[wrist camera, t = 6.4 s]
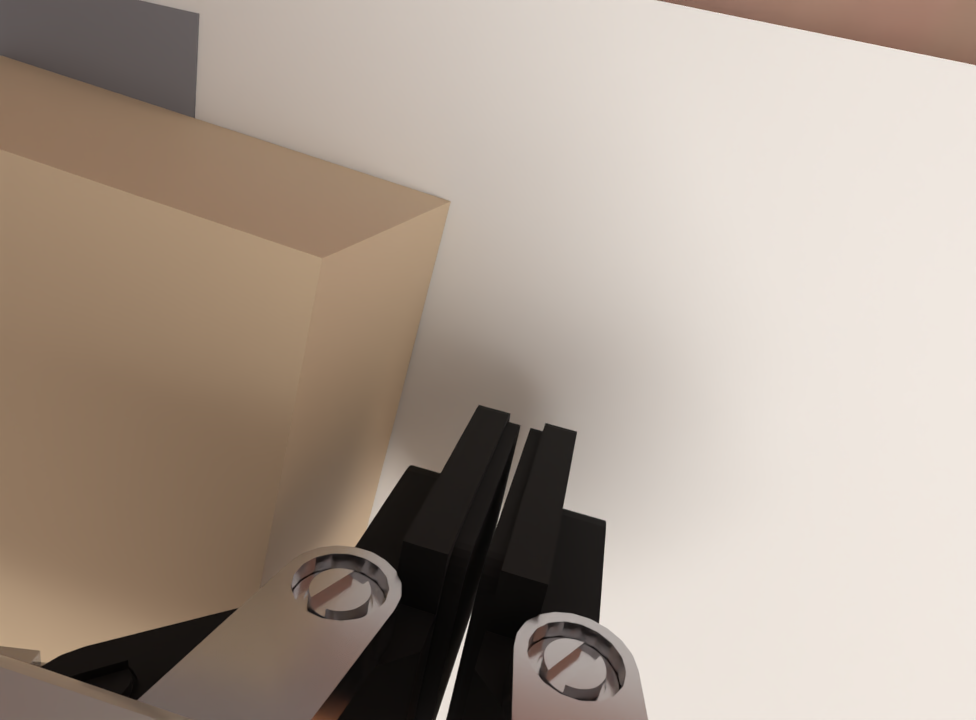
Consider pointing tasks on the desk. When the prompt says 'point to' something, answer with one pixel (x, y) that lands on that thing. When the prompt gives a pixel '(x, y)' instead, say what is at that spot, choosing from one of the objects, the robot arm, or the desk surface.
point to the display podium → (656, 301)
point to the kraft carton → (185, 358)
